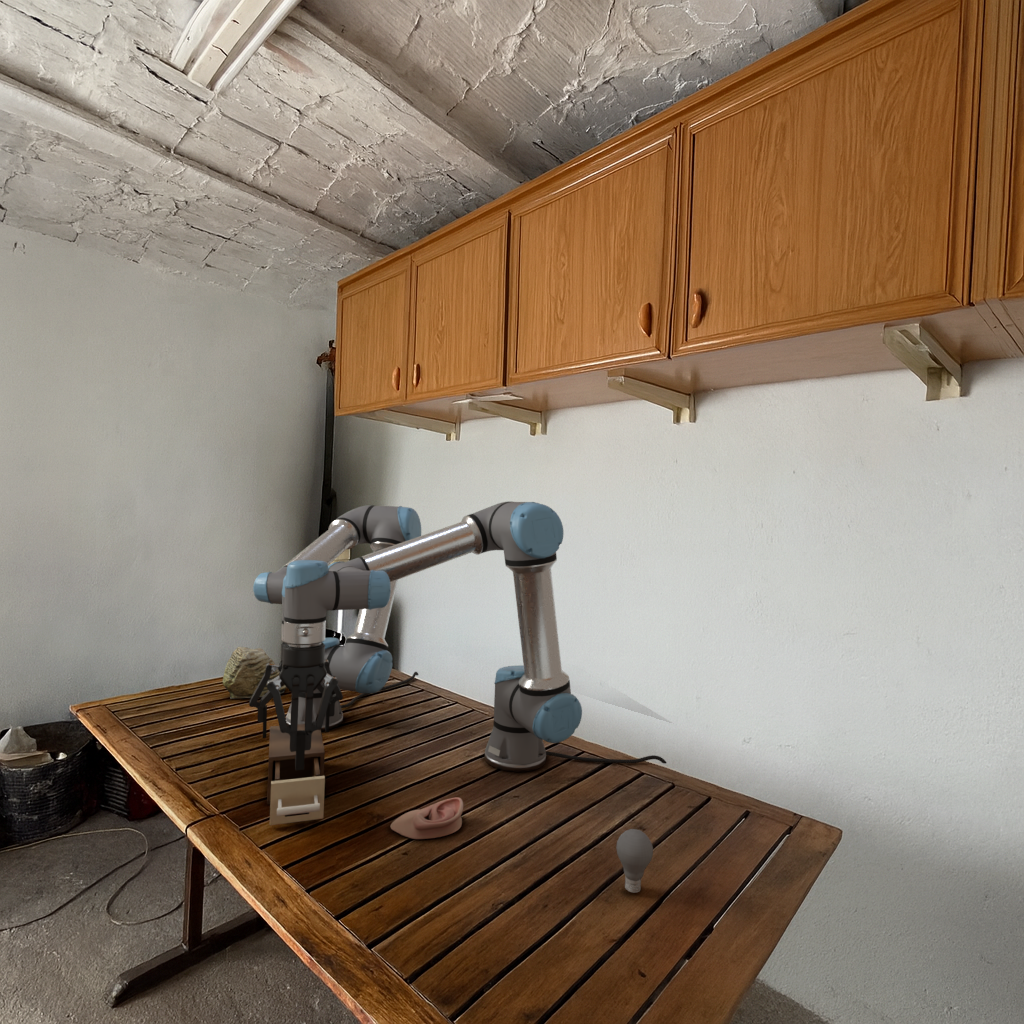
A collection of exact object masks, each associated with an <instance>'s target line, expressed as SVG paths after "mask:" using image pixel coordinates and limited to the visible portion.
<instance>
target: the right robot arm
mask: <svg viewBox="0 0 1024 1024" xmlns="http://www.w3.org/2000/svg"><path fill="white" fill-rule="evenodd" d="M563 540H564V525H563V522H562V519H561V518H560V516H559V515H558V513H557V512H556V511H555V510H554V509H553V508H552V507H550V506H548V505H546V504H543V503H539V502H535V501H502V502H498V503H496V504H494V505H493V504H492V505H491V506H488V507H485V508H482V509H480V510H478V511H475V512H473V513H469V514H467V515H464V516H463V517H462V519H461V521H460V522H457V523H454V524H451V525H449V526H445V527H442V528H440V529H437V530H434V531H431V532H429V533H425V534H421V536H419V537H416V538H414V539H411V540H408V541H405V542H402V543H399V544H396V545H393V546H390V547H387V548H385V549H382V550H379V551H376V552H373V551H372V552H370V553H367V554H365V555H362V556H360V557H356V558H353V559H350V560H347V561H333V562H331V563H330V564H329V565H328V564H327V563H326V562H325V561H319V560H297V561H293V562H291V563H289V564H288V566H287V573H286V583H285V612H284V635H283V641H284V642H285V643H286V644H285V645H284V646H283V661H282V669H281V670H280V672H279V676H277V677H276V678H274V679H273V680H271V679H270V680H268V681H267V689H268V690H269V691H270V693H271V694H272V696H273V697H272V700H273V704H274V708H275V714H276V716H277V722H278V726H279V727H280V731H281V732H282V733H288V734H289V735H290V751H291V752H294V751H296V759H295V768H296V770H304V756H305V750H310V749H311V736H312V733H313V732H314V731H316V730H320V729H321V728H322V725H323V721H324V718H325V714H326V711H327V708H328V704H329V701H330V697H331V694H332V691H333V690H334V688H335V687H336V685H337V684H338V681H337V678H336V676H331V675H329V674H328V673H327V671H326V668H325V666H324V658H325V645H324V643H323V641H324V640H325V638H326V630H327V629H326V628H327V627H326V626H327V612H328V611H349V610H350V611H351V610H352V611H353V610H360V609H369V610H371V609H375V608H383V607H385V606H386V605H387V604H388V602H389V599H390V593H391V585H390V582H393V581H396V580H398V581H399V580H401V579H403V578H407V577H409V576H412V575H414V574H415V575H416V574H418V573H421V572H422V571H426V570H428V569H431V568H433V567H436V566H439V565H441V564H445V563H447V562H450V561H452V560H456V559H457V558H461V557H463V556H466V555H469V554H471V553H473V554H474V555H481V554H484V553H487V552H491V551H493V552H494V551H503V555H504V556H503V557H504V565H505V567H507V568H508V569H509V570H510V571H512V576H513V584H514V594H515V602H516V611H517V619H518V626H519V627H518V628H519V637H520V645H521V655H522V664H521V665H508V666H503V667H500V668H499V669H497V670H496V672H495V678H494V700H493V701H494V703H493V727H492V730H491V733H490V735H489V737H488V741H487V743H486V746H485V749H484V760H485V762H486V764H488V765H489V766H491V767H492V768H495V769H498V770H501V771H505V772H506V771H507V772H513V773H515V772H516V773H523V772H531V771H535V770H538V769H540V768H542V767H543V766H544V765H545V764H546V762H547V756H550V757H555V758H562V759H566V760H572V761H579V762H587V763H588V762H589V763H603V764H604V763H605V764H638V763H643V762H646V761H650V760H651V761H652V760H657V761H659V762H660V763H662V764H667V761H666V759H664V758H663V757H662V756H659V755H653V754H652V755H646V756H643V757H639V758H635V759H633V758H632V759H619V758H617V759H616V758H615V759H614V758H600V757H599V758H598V757H584V756H576V755H570V754H566V753H560V752H553V751H547V750H546V746H545V743H544V742H547V743H550V744H558V743H562V742H564V741H566V740H568V739H569V738H570V737H572V735H573V734H575V731H576V729H578V728H579V726H580V724H581V721H582V716H583V707H582V704H581V702H580V700H579V699H578V697H577V696H576V695H574V694H573V693H572V690H571V682H570V681H571V680H570V676H569V674H568V673H567V672H565V671H564V670H563V669H562V659H561V649H560V641H559V631H558V620H557V613H556V603H555V602H556V601H555V594H554V593H555V592H554V584H553V575H552V567H553V566H554V565H555V563H557V561H558V557H557V551H559V550H560V545H561V544H563ZM283 641H282V642H283ZM323 679H325V681H324V685H325V688H324V692H323V695H322V698H321V702H320V705H319V709H318V712H317V716H316V719H315V722H312V713H313V691H314V690H316V688H317V687H318V686H319V684H320V683H321V682H322V681H323ZM281 681H282V682H283V683H284V685H285V686H286V689H287V690H288V691H289V692H290V693H291V698H290V699H291V701H290V704H291V723H290V724H287V722H286V714H285V710H284V705H283V701H282V696H281V693H280V691H279V689H280V688H281V684H280V683H281ZM302 692H303V693H306V704H305V730H300V731H297V727H298V703H299V693H302Z"/></svg>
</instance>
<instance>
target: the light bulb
mask: <svg viewBox="0 0 1024 1024" xmlns="http://www.w3.org/2000/svg"><path fill="white" fill-rule="evenodd" d="M615 849H616V854H617V857H618V859H619V861H620V863H621V865H622V867H623V873H624V874H623V875H624V876H625V878H624V888H625V890H627V891H628V892H630V893H634V894H635V893H639V892H640V891H641V889H642V887H641V886H642V879H643V877H644V875H645V871H646V868H647V867H648V866H649V864H650V863H651V861H652V859H653V855H654V847H653V843H652V841H651V838H649V836H648V835H647V834H646V833H645V832H643V831H642V830H641V829H636V828H629V829H627V830H625V831H623V832H622V833H621V834H620V835H619V837H618V839H617V841H616V847H615Z"/></svg>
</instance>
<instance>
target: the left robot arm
mask: <svg viewBox="0 0 1024 1024" xmlns="http://www.w3.org/2000/svg"><path fill="white" fill-rule="evenodd" d="M419 536H422V524H421V518H420V516H419V514H418V512H417V511H416V510H415V509H414V508H412V507H409V506H408V507H407V506H402V505H399V506H392V505H374V504H367V505H361V506H357V507H355V508H353V509H351V510H349V511H346V512H345V513H343V514H341V515H340V516H338V517H337V518H336V519H334V520H333V521H332V522H331V523H330V524H329V526H328V530H326V531H325V532H323V533H322V534H321V535H320V536H318V537H317V538H316V539H314V540H313V541H312V542H311V543H310V544H309V545H308V546H306V547H305V548H303V550H301V551H300V552H299V553H298V554H295V556H294V557H292V558H291V559H290V560H289V561H288V562H287V563H285V564H284V565H282V567H281V568H279V569H277V571H275V572H272V571H268V572H261V573H259V574H258V575H256V578H255V579H254V582H253V585H252V592H253V595H254V597H255V599H256V600H257V601H258V602H262V603H267V604H271V605H273V604H275V605H281V608H282V609H281V610H282V611H281V617H282V619H281V632H280V633H281V635H280V636H281V637H280V639H281V641H282V643H280V662H279V663H275V664H271V663H270V662H269V663H267V664H266V670H265V673H264V675H263V677H262V679H261V681H260V683H259V684H258V686H257V688H256V690H255V692H254V694H253V695H252V697H251V698H249V704H248V705H249V707H250V708H255V709H257V722H258V724H259V723H262V739H267V729H268V728H267V727H268V723H267V722H268V705H267V704H268V703H269V702H270V701H271V699H273V696H272V694H271V693H270V691H268V692H267V693H266V694H265V695H264V696H263V697H260V695H261V693H262V691H263V689H264V687H265V686H266V684H267V681H268V680H269V678H270V675H271V674H274V673H275V671H276V670H279V672H280V670H281V669H282V661H283V646H284V645H285V644H286V643H285V642H284V641H283V635H284V612H285V583H286V573H287V566H288V564H289V563H291V562H293V561H297V560H319V561H325V562H326V563H327V564H328V566H329V565H330V564H332V563H334V562H335V560H336V559H337V558H338V557H340V556H341V554H343V553H344V552H345V551H346V550H352V549H354V548H355V547H356V546H358V545H363V544H367V545H369V547H370V549H371V551H372V553H373V552H376V551H379V550H382V549H385V548H387V547H390V546H393V545H396V544H399V543H402V542H405V541H408V540H411V539H414V538H416V537H419ZM398 583H399V579H398V580H396V581H393V582H390V585H391V593H390V599H389V602H388V604H387V605H386V606H385V607H383V608H375V609H371V610H369V609H358V614H357V618H356V621H355V622H356V623H355V625H354V626H355V627H354V631H353V633H352V634H350V635H349V636H347V637H346V638H345V644H344V645H340V644H341V643H340V642H341V641H340V639H339V638H337V637H325V640H324V641H323V643H324V645H325V658H324V666H325V668H326V671H327V673H328V674H329V675H331V676H336V678H337V681H338V684H337V685H336V687H335V688H334V690H333V691H332V694H331V697H330V701H329V704H328V708H327V711H326V714H325V718H324V721H323V725H322V728H321V732H325V733H329V732H330V730H332V729H335V728H337V727H339V726H340V725H342V723H343V722H344V714H343V709H345V708H349V707H350V706H352V705H353V704H354V703H355V702H356V701H357V700H359V699H361V698H363V697H365V696H369V695H372V694H376V693H378V692H381V691H385V690H389V689H392V688H396V687H398V686H401V685H404V684H407V683H409V682H410V681H412V680H414V679H415V677H416V676H419V672H418V671H414V672H413V674H412V675H411V677H409V678H406V679H405V680H402V681H400V682H396V683H392V684H390V685H389V684H388V685H386V684H387V683H388V681H389V679H390V676H391V673H392V669H393V655H392V653H391V652H390V651H388V649H389V644H388V643H387V641H386V639H385V638H386V633H387V629H388V625H389V621H390V617H391V611H392V608H393V603H394V599H395V595H396V592H397V586H398ZM324 681H325V679H323V681H322V682H321V683H320V684H319V686H318V687H317V688H316V690H314V691H313V713H312V722H315V719H316V716H317V712H318V709H319V705H320V702H321V698H322V695H323V692H324V688H325V685H324ZM280 684H281V687H282V686H283V685H284V683H283V682H282V681H281V683H280ZM385 685H386V686H385ZM342 691H347V692H354V693H357V694H358V693H359V694H358V695H357V696H355V697H354V698H352V700H351V701H349V702H348V703H346V704H345V703H344V704H341V702H340V701H341V700H343V699H344V695H343V693H342ZM259 698H261V699H259ZM305 704H306V693H303V692H302V693H299V703H298V724H305ZM285 717H286V722H287V724H290V723H291V703H290V704H289V708H288V711H287V713H286V714H285Z"/></svg>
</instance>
